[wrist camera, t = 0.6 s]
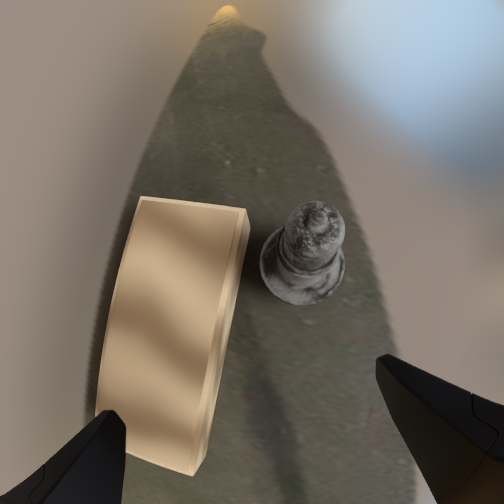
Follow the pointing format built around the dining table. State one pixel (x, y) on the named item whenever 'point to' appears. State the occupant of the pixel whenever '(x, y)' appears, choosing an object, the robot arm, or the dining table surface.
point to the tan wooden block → (172, 327)
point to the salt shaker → (305, 255)
